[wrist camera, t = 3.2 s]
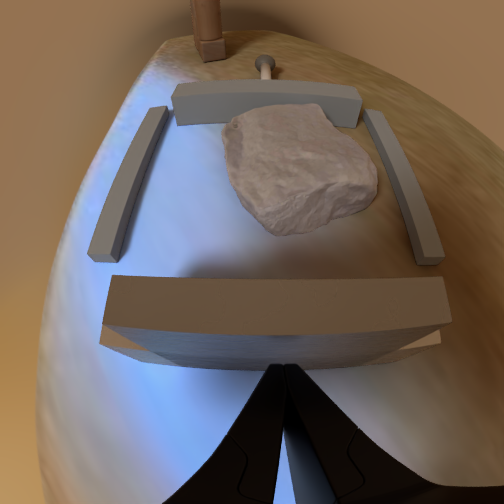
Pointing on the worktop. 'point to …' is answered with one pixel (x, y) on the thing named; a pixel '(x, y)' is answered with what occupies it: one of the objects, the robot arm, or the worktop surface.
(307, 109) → the stone block
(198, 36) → the wooden block
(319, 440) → the robot arm
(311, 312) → the bar
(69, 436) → the worktop surface
